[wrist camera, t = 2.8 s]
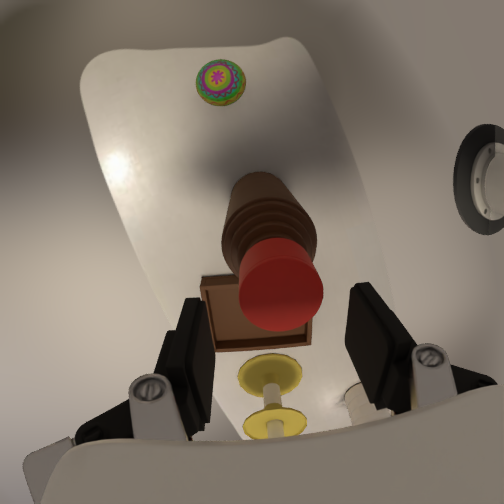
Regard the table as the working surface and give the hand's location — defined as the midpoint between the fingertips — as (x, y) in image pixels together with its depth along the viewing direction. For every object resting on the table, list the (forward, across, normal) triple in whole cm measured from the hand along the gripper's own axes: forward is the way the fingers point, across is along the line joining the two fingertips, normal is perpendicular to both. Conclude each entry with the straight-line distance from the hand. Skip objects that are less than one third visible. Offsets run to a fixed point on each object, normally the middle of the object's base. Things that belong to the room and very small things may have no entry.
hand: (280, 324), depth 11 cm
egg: (+23, +2, -13) cm, 27 cm away
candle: (+23, 0, +27) cm, 35 cm away
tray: (+23, 0, +14) cm, 27 cm away
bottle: (+23, 0, 0) cm, 23 cm away
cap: (+5, 0, 0) cm, 5 cm away
